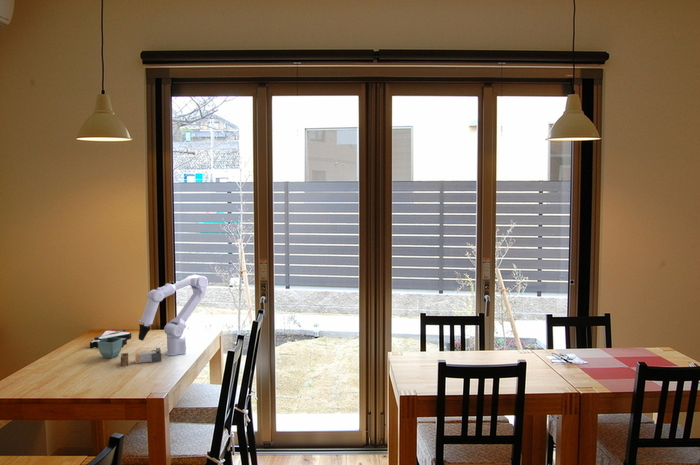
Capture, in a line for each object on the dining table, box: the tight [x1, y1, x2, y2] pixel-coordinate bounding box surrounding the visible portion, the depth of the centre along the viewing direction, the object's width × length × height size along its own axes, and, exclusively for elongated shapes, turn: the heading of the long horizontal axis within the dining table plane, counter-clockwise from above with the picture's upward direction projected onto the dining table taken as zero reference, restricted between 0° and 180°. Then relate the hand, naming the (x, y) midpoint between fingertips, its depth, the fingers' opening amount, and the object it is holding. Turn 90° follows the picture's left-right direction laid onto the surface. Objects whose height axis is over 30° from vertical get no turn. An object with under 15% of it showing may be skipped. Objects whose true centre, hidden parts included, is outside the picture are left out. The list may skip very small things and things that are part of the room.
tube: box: [134, 349, 162, 364], centre depth 266 cm, size 12×4×4 cm, turn 112°
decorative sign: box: [89, 329, 132, 349], centre depth 302 cm, size 18×4×30 cm
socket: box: [120, 352, 129, 367], centre depth 262 cm, size 3×7×4 cm, turn 22°
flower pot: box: [97, 337, 123, 359], centre depth 274 cm, size 9×9×9 cm
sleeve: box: [151, 347, 162, 363], centre depth 268 cm, size 4×6×5 cm
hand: (140, 339), depth 266 cm, fingers open, 7 cm apart
